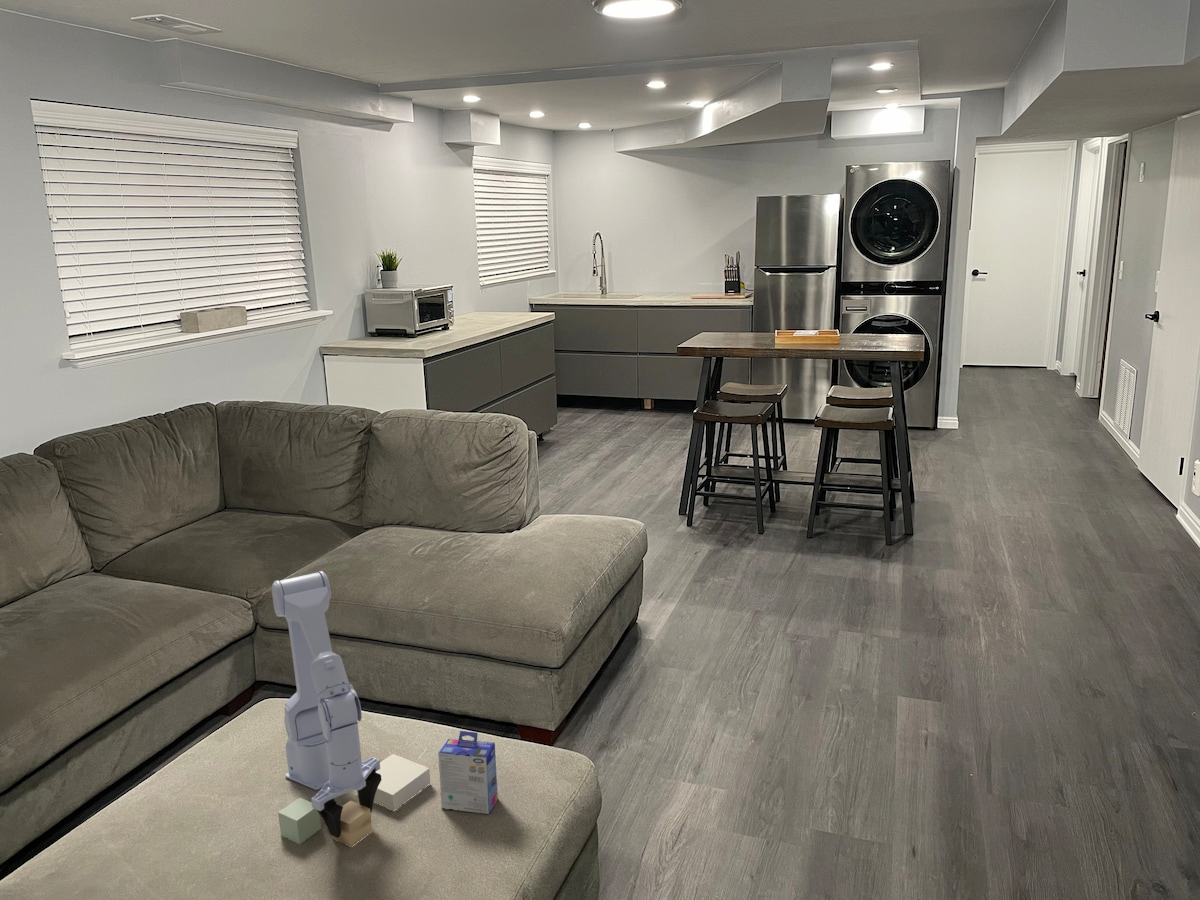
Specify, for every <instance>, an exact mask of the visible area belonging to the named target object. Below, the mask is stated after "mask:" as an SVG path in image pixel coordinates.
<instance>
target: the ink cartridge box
mask: <svg viewBox="0 0 1200 900" xmlns="http://www.w3.org/2000/svg"><path fill="white" fill-rule="evenodd" d="M458 736H459V737H458V739H456V738H448V739H447V740H446V742H445V743H444V744H443V746H442V747H441V749H440V750H439V751H438V769H439V782H440V799H441V800H440V801H441V803H440V804H441V809H442V808H445V809H444V810H449V809H453V810H452V811H458V810H459V811H460V812H468V813H469V812H470V813H475V814H476V813H477V814H486V815H488V814H490V812H491V811H492V810H493V807H494V806H495V805H496V804H497V801H498V799H499V796H498V795H499V793H498V779H497V778H498V776H497V774H498V773H497V759H496V756H497V755H496V743H495V742H492V741H491V742H490V741H479V740H478V732H476V731H464V730H460V731H459V735H458ZM467 736H469V737H472V738H473V740H469V739H463V737H467ZM459 811H458V812H459Z"/></svg>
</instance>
